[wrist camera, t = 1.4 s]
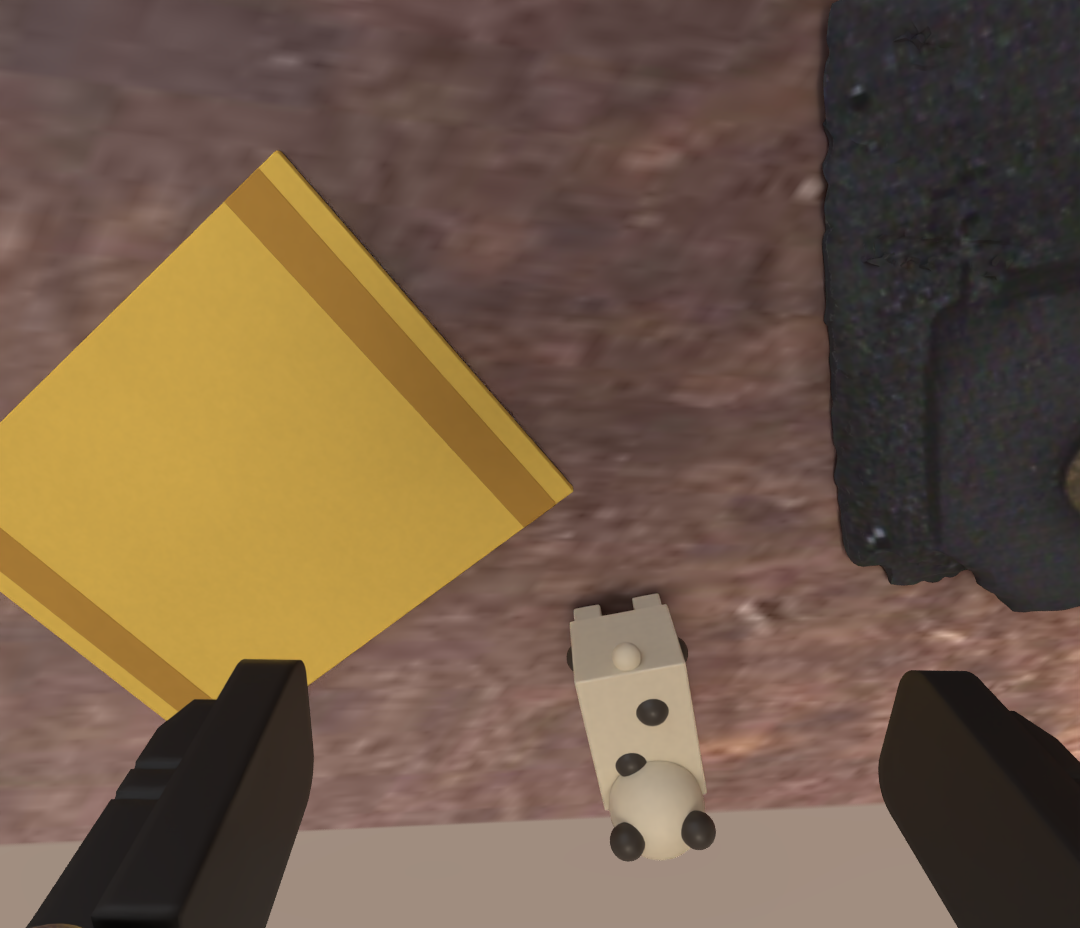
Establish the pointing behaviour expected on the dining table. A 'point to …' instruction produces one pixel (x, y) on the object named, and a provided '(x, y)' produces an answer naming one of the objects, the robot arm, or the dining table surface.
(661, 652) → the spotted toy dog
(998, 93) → the dark slate chunk
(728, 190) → the dining table surface
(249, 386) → the towel
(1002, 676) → the dining table surface
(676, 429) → the dining table surface
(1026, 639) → the dining table surface
